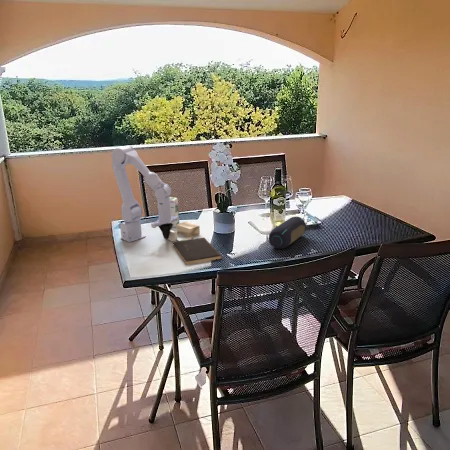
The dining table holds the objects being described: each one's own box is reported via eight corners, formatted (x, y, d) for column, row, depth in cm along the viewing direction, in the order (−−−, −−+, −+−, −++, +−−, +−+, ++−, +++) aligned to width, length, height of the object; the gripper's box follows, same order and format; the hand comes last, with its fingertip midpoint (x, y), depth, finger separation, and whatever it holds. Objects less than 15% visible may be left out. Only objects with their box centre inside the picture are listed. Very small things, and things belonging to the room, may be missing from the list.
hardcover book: (186, 266, 178) (185, 261, 178) (172, 246, 199) (172, 242, 198) (222, 259, 184) (222, 255, 183) (205, 241, 204) (205, 237, 203)
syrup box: (176, 227, 222) (174, 200, 218) (165, 226, 224) (163, 199, 219) (179, 223, 228) (178, 197, 223) (168, 223, 229) (167, 196, 224)
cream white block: (178, 243, 201) (177, 234, 199) (164, 237, 207) (163, 229, 206) (184, 241, 203) (183, 232, 201) (170, 235, 210) (169, 227, 208)
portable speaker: (286, 253, 188) (286, 232, 185) (265, 248, 193) (266, 228, 190) (308, 235, 208) (309, 216, 205) (289, 232, 213) (290, 212, 210)
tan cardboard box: (177, 244, 200) (177, 235, 199) (162, 238, 208) (161, 229, 206) (201, 235, 211) (201, 226, 209) (186, 229, 218) (185, 221, 217)
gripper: (157, 216, 191) (159, 244, 196) (181, 209, 201) (183, 236, 205) (147, 213, 196) (149, 240, 200) (172, 206, 205) (174, 232, 210)
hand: (166, 238), depth 203 cm, fingers closed
